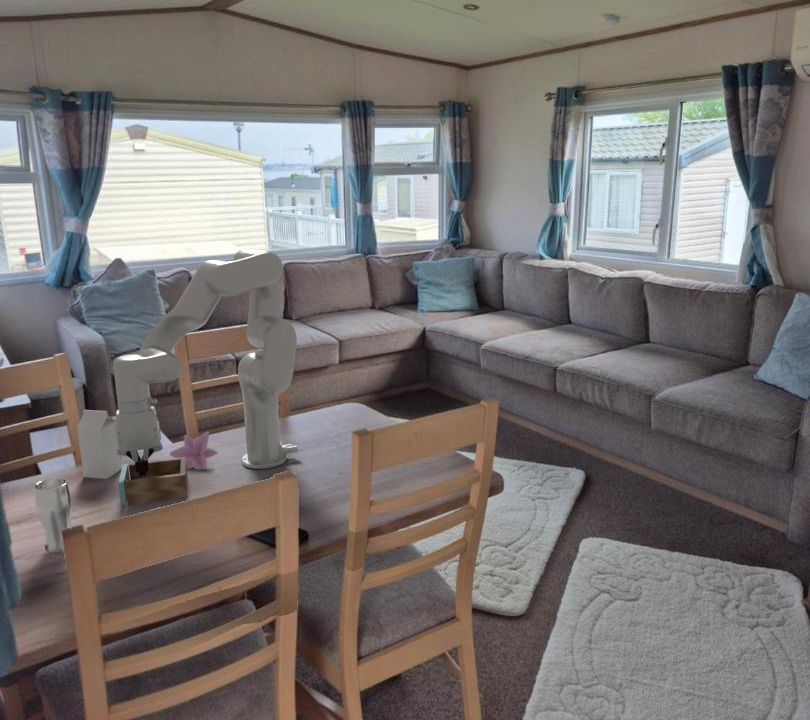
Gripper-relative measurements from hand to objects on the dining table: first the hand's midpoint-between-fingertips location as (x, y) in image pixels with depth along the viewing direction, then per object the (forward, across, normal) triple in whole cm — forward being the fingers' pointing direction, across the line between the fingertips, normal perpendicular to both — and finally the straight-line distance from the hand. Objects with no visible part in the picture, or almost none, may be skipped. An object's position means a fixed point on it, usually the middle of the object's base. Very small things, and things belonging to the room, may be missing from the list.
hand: (142, 473), depth 174 cm
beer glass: (+7, +17, +20) cm, 27 cm away
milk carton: (+7, +12, -17) cm, 22 cm away
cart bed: (+6, -3, 0) cm, 7 cm away
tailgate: (+5, +4, 0) cm, 6 cm away
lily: (+7, -12, -14) cm, 20 cm away
